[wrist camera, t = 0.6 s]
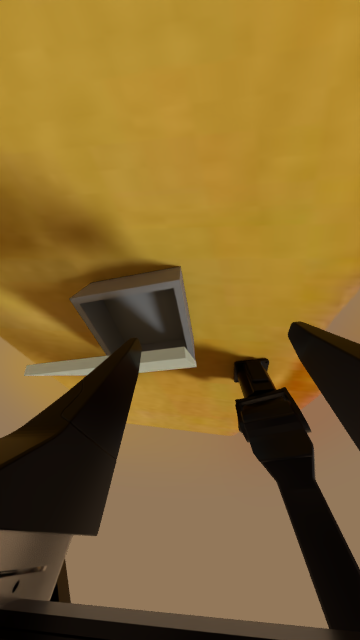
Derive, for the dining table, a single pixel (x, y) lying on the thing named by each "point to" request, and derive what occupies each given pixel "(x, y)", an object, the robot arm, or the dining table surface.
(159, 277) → the box
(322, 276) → the dining table surface
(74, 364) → the lid
